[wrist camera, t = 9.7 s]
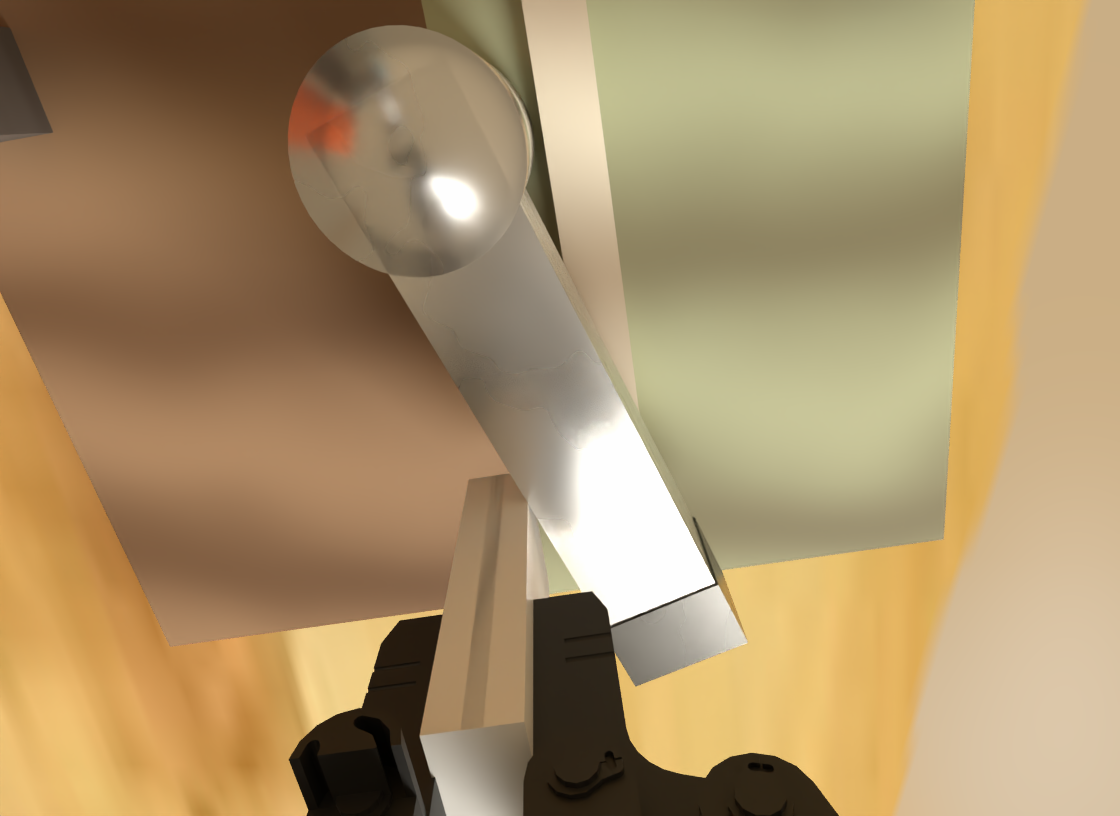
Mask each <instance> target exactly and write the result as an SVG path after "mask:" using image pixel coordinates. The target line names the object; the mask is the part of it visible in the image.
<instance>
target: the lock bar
mask: <svg viewBox="0 0 1120 816" xmlns="http://www.w3.org/2000/svg"><path fill="white" fill-rule="evenodd" d="M288 155H289V161H290V168H291V172H292V176H293V179H294V183H295V186H296V189H297V191H298V193H299V196H300V198H301V201H302V203H303V204H304V206H305V208H306V210H307V212H308V213H309V215H310V217H311V218H312V219H313V221H314V222H315V224H316V225H317V226H318V228H319V229H320V230H321V231H322V232H323V233H324V234H325V236H326V237H327V238H328V239H329V240H330V241H331V242H332V243H333V244H335V245H336V246H337V247H338V248H339V249H340V250H341V251H343V252H344V253H346V254H347V255H349V256H350V257H352V258H353V259H354V260H356V261H358V262H360V263H362V264H364V265H366V266H368V267H370V268H373V269H375V270H378V271H381V272H384V273H388V274H389V275H390V277H391V279H392V280H393V282H394V284H395V285H396V287H397V289H398V290H399V292H400V294H401V295H402V297H403V299H404V300H405V302H406V303H407V305H408V307H409V308H410V310H411V312H412V313H413V315H414V317H415V318H416V320H417V322H418V323H419V325H420V327H421V328H422V330H423V331H424V333H425V335H426V336H427V338H428V340H429V341H430V343H431V345H432V346H433V348H434V350H435V351H436V353H437V355H438V356H439V358H440V359H441V361H442V363H443V364H444V366H445V368H446V369H447V371H448V373H449V374H450V376H451V378H452V379H453V381H454V382H455V384H456V386H457V387H458V389H459V391H460V392H461V394H462V396H463V397H464V399H465V401H466V402H467V404H468V406H469V407H470V409H471V410H472V412H473V414H474V415H475V417H476V419H477V420H478V422H479V424H480V425H481V427H482V429H483V430H484V432H485V434H486V435H487V437H488V438H489V440H490V442H491V443H492V445H493V447H494V448H495V450H496V452H497V453H498V455H499V457H500V458H501V460H502V462H503V463H504V465H505V466H506V468H507V470H508V471H509V473H510V475H511V476H512V478H513V480H514V481H515V483H516V485H517V486H518V488H519V489H520V491H521V493H522V494H523V496H524V498H525V499H526V501H527V502H528V504H529V506H530V508H531V509H532V511H533V513H534V514H535V516H536V517H537V519H538V521H539V522H540V524H541V526H542V527H543V529H544V531H545V532H546V534H547V536H548V537H549V539H550V541H551V542H552V544H553V545H554V547H555V549H556V550H557V552H558V554H559V555H560V557H561V559H562V560H563V562H564V564H565V565H566V567H567V568H568V570H569V572H570V573H571V575H572V577H573V578H574V580H575V582H576V583H577V585H578V587H579V588H580V590H581V592H582V593H583V592H590V591H593V592H594V594H595V595H596V596H597V597H598V598H599V599H600V601H601V602H602V603H603V604H604V605H605V606H606V608H607V609H608V614H609V620H610V627H611V633H612V640H613V646H614V652H615V653H616V655H617V657H618V658H619V660H620V662H621V663H622V665H623V667H624V668H625V670H626V671H627V673H628V675H629V676H630V678H631V680H632V681H633V683H634V685H635V686H638V685H641V684H643V683H646V682H648V681H651V680H653V679H656V678H659V677H661V676H664V675H666V674H669V673H671V672H674V671H677V670H679V669H682V668H684V667H687V666H689V665H692V664H695V663H697V662H700V661H702V660H705V659H707V658H710V657H712V656H715V655H718V654H720V653H723V652H725V651H728V650H730V649H733V648H736V647H738V646H741V645H743V644H746V643H748V641H747V639H746V636H745V633H744V630H743V628H742V625H741V622H740V619H739V617H738V614H737V611H736V608H735V606H734V603H733V600H732V598H731V595H730V592H729V589H728V587H727V584H726V581H725V578H724V576H723V573H722V570H721V568H720V566H719V564H718V562H717V560H716V558H715V556H714V554H713V552H712V550H711V548H710V546H709V544H708V542H707V540H706V538H705V536H704V534H703V532H702V530H701V528H700V526H699V524H698V522H697V520H696V518H695V517H692V516H691V514H690V512H689V510H688V508H687V506H686V504H685V502H684V500H683V498H682V496H681V494H680V492H679V490H678V488H677V486H676V484H675V482H674V480H673V478H672V476H671V474H670V472H669V470H668V468H667V466H666V464H665V462H664V460H663V458H662V456H661V454H660V452H659V450H658V449H657V447H656V445H655V443H654V441H653V439H652V437H651V435H650V433H649V431H648V429H647V427H646V425H645V423H644V421H643V419H642V417H641V415H640V413H639V411H638V409H637V407H636V405H635V403H634V401H633V399H632V397H631V395H630V393H629V391H628V389H627V387H626V385H625V383H624V381H623V379H622V377H621V375H620V373H619V372H618V370H617V368H616V366H615V364H614V362H613V360H612V358H611V356H610V354H609V352H608V350H607V348H606V346H605V344H604V342H603V340H602V338H601V336H600V334H599V332H598V330H597V328H596V326H595V324H594V322H593V320H592V318H591V316H590V314H589V312H588V310H587V308H586V306H585V304H584V302H583V300H582V298H581V297H580V295H579V293H578V291H577V289H576V287H575V285H574V283H573V281H572V279H571V277H570V275H569V273H568V271H567V269H566V267H565V265H564V263H563V261H562V259H561V257H560V255H559V253H558V251H557V249H556V247H555V245H554V243H553V241H552V239H551V237H550V235H549V233H548V231H547V229H546V227H545V225H544V223H543V221H542V220H541V218H540V216H539V214H538V212H537V210H536V208H535V206H534V204H533V202H532V200H531V198H530V196H529V194H528V192H527V190H526V185H527V182H528V179H529V177H530V174H531V170H532V166H533V160H534V134H533V127H532V123H531V119H530V116H529V113H528V111H527V108H526V106H525V103H524V102H523V100H522V98H521V96H520V94H519V93H518V91H517V90H516V89H515V87H514V86H513V85H512V83H511V82H510V81H509V80H508V79H507V78H506V77H505V76H504V75H503V74H502V73H501V72H500V71H498V70H497V69H496V68H495V67H493V66H492V65H491V64H489V63H488V62H487V61H485V60H484V59H482V58H481V57H480V56H478V55H477V54H476V53H474V52H473V51H471V50H470V49H469V48H467V47H465V46H464V45H462V44H461V43H459V42H457V41H456V40H454V39H452V38H450V37H448V36H445V35H443V34H441V33H438V32H435V31H432V30H428V29H425V28H421V27H414V26H407V25H387V26H381V27H375V28H370V29H367V30H364V31H361V32H358V33H355V34H353V35H351V36H349V37H347V38H345V39H343V40H341V41H340V42H339V43H337V44H336V45H334V46H333V47H332V48H330V49H329V50H328V51H327V52H326V53H325V54H324V55H323V56H322V57H321V58H320V59H318V60H317V62H316V63H315V64H314V65H313V67H312V68H311V69H310V71H309V72H308V73H307V75H306V77H305V78H304V80H303V82H302V84H301V86H300V88H299V90H298V92H297V95H296V98H295V100H294V103H293V107H292V111H291V115H290V119H289V129H288Z"/></svg>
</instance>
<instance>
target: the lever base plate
mask: <svg viewBox="0 0 1120 816" xmlns="http://www.w3.org/2000/svg"><path fill="white" fill-rule="evenodd" d="M974 5H975V0H0V292H1V294H2V296H3V299H4V301H5V303H6V305H7V307H8V309H9V311H10V313H11V315H12V317H13V319H14V322H15V324H16V326H17V328H18V330H19V332H20V334H21V336H22V338H23V340H24V342H25V344H26V347H27V349H28V351H29V353H30V355H31V357H32V359H33V361H34V363H35V365H36V367H37V370H38V372H39V374H40V376H41V378H42V380H43V382H44V384H45V386H46V388H47V390H48V393H49V395H50V397H51V399H52V401H53V403H54V405H55V407H56V409H57V411H58V413H59V416H60V418H61V420H62V422H63V424H64V426H65V428H66V430H67V432H68V434H69V436H70V438H71V441H72V443H73V445H74V447H75V449H76V451H77V453H78V455H79V457H80V459H81V461H82V464H83V466H84V468H85V470H86V472H87V474H88V476H89V478H90V480H91V482H92V484H93V487H94V489H95V491H96V493H97V495H98V497H99V499H100V501H101V503H102V505H103V507H104V509H105V512H106V514H107V516H108V518H109V520H110V522H111V524H112V526H113V528H114V530H115V532H116V535H117V537H118V539H119V541H120V543H121V545H122V547H123V549H124V551H125V553H126V555H127V558H128V560H129V562H130V564H131V566H132V568H133V570H134V572H135V574H136V576H137V578H138V580H139V583H140V585H141V587H142V589H143V591H144V593H145V595H146V597H147V599H148V601H149V603H150V606H151V608H152V610H153V612H154V614H155V616H156V618H157V620H158V622H159V624H160V626H161V629H162V631H163V633H164V635H165V637H166V639H167V641H168V643H169V645H170V647H172V646H179V645H186V644H194V643H201V642H208V641H215V640H222V639H230V638H237V637H244V636H251V635H258V634H266V633H273V632H280V631H287V630H294V629H302V628H309V627H316V626H323V625H330V624H338V623H345V622H352V621H359V620H366V619H373V618H381V617H388V616H395V615H402V614H409V613H417V612H424V611H431V610H438V609H444V605H445V600H446V595H447V590H448V585H449V579H450V574H451V569H452V564H453V559H454V553H455V548H456V543H457V538H458V532H459V527H460V522H461V517H462V512H463V506H464V501H465V496H466V491H467V485H468V480H469V479H474V478H480V477H487V476H494V475H501V474H509V471H508V470H507V468H506V466H505V465H504V463H503V462H502V460H501V458H500V457H499V455H498V453H497V452H496V450H495V448H494V447H493V445H492V443H491V442H490V440H489V438H488V437H487V435H486V434H485V432H484V430H483V429H482V427H481V425H480V424H479V422H478V420H477V419H476V417H475V415H474V414H473V412H472V410H471V409H470V407H469V406H468V404H467V402H466V401H465V399H464V397H463V396H462V394H461V392H460V391H459V389H458V387H457V386H456V384H455V382H454V381H453V379H452V378H451V376H450V374H449V373H448V371H447V369H446V368H445V366H444V364H443V363H442V361H441V359H440V358H439V356H438V355H437V353H436V351H435V350H434V348H433V346H432V345H431V343H430V341H429V340H428V338H427V336H426V335H425V333H424V331H423V330H422V328H421V327H420V325H419V323H418V322H417V320H416V318H415V317H414V315H413V313H412V312H411V310H410V308H409V307H408V305H407V303H406V302H405V300H404V299H403V297H402V295H401V294H400V292H399V290H398V289H397V287H396V285H395V284H394V282H393V280H392V279H391V277H390V275H389V274H388V273H384V272H381V271H378V270H375V269H373V268H370V267H368V266H366V265H364V264H362V263H360V262H358V261H356V260H354V259H353V258H352V257H350V256H349V255H347V254H346V253H344V252H343V251H341V250H340V249H339V248H338V247H337V246H336V245H335V244H333V243H332V242H331V241H330V240H329V239H328V238H327V237H326V236H325V234H324V233H323V232H322V231H321V230H320V229H319V228H318V226H317V225H316V224H315V222H314V221H313V219H312V218H311V217H310V215H309V213H308V212H307V210H306V208H305V206H304V204H303V203H302V201H301V198H300V196H299V193H298V191H297V189H296V186H295V183H294V179H293V176H292V172H291V168H290V161H289V155H288V129H289V119H290V115H291V111H292V107H293V103H294V100H295V98H296V95H297V92H298V90H299V88H300V86H301V84H302V82H303V80H304V78H305V77H306V75H307V73H308V72H309V71H310V69H311V68H312V67H313V65H314V64H315V63H316V62H317V60H318V59H320V58H321V57H322V56H323V55H324V54H325V53H326V52H327V51H328V50H329V49H330V48H332V47H333V46H334V45H336V44H337V43H339V42H340V41H341V40H343V39H345V38H347V37H349V36H351V35H353V34H355V33H358V32H361V31H364V30H367V29H370V28H375V27H381V26H387V25H407V26H414V27H421V28H425V29H428V30H432V31H435V32H438V33H441V34H443V35H445V36H448V37H450V38H452V39H454V40H456V41H457V42H459V43H461V44H462V45H464V46H465V47H467V48H469V49H470V50H471V51H473V52H474V53H476V54H477V55H478V56H480V57H481V58H482V59H484V60H485V61H487V62H488V63H489V64H491V65H492V66H493V67H495V68H496V69H497V70H498V71H500V72H501V73H502V74H503V75H504V76H505V77H506V78H507V79H508V80H509V81H510V82H511V83H512V85H513V86H514V87H515V89H516V90H517V91H518V93H519V94H520V96H521V98H522V100H523V102H524V103H525V106H526V108H527V111H528V113H529V116H530V119H531V123H532V127H533V134H534V160H533V166H532V170H531V174H530V177H529V179H528V182H527V185H526V190H527V192H528V194H529V196H530V198H531V200H532V202H533V204H534V206H535V208H536V210H537V212H538V214H539V216H540V218H541V220H542V221H543V223H544V225H545V227H546V229H547V231H548V233H549V235H550V237H551V239H552V241H553V243H554V245H555V247H556V249H557V251H558V253H559V255H560V257H561V259H562V261H563V263H564V265H565V267H566V269H567V271H568V273H569V275H570V277H571V279H572V281H573V283H574V285H575V287H576V289H577V291H578V293H579V295H580V297H581V298H582V300H583V302H584V304H585V306H586V308H587V310H588V312H589V314H590V316H591V318H592V320H593V322H594V324H595V326H596V328H597V330H598V332H599V334H600V336H601V338H602V340H603V342H604V344H605V346H606V348H607V350H608V352H609V354H610V356H611V358H612V360H613V362H614V364H615V366H616V368H617V370H618V372H619V373H620V375H621V377H622V379H623V381H624V383H625V385H626V387H627V389H628V391H629V393H630V395H631V397H632V399H633V401H634V403H635V405H636V407H637V409H638V411H639V413H640V415H641V417H642V419H643V421H644V423H645V425H646V427H647V429H648V431H649V433H650V435H651V437H652V439H653V441H654V443H655V445H656V447H657V449H658V450H659V452H660V454H661V456H662V458H663V460H664V462H665V464H666V466H667V468H668V470H669V472H670V474H671V476H672V478H673V480H674V482H675V484H676V486H677V488H678V490H679V492H680V494H681V496H682V498H683V500H684V502H685V504H686V506H687V508H688V510H689V512H690V514H691V516H692V517H695V518H696V520H697V522H698V524H699V526H700V528H701V530H702V532H703V534H704V536H705V538H706V540H707V542H708V544H709V546H710V548H711V550H712V552H713V554H714V556H715V558H716V560H717V562H718V564H719V566H720V568H721V570H726V569H733V568H741V567H748V566H755V565H762V564H769V563H777V562H784V561H791V560H798V559H805V558H813V557H820V556H827V555H834V554H841V553H849V552H856V551H863V550H870V549H877V548H885V547H892V546H899V545H906V544H913V543H921V542H928V541H935V540H942V539H944V524H945V507H946V490H947V472H948V455H949V438H950V421H951V403H952V386H953V369H954V351H955V334H956V317H957V299H958V282H959V265H960V247H961V230H962V213H963V195H964V178H965V161H966V144H967V126H968V109H969V92H970V74H971V57H972V40H973V22H974ZM537 520H538V519H537ZM538 526H539V531H540V537H541V542H542V548H543V553H544V558H545V564H546V569H547V575H548V580H549V594H553V593H561V592H568V591H575V590H580V588H579V587H578V585H577V583H576V582H575V580H574V578H573V577H572V575H571V573H570V572H569V570H568V568H567V567H566V565H565V564H564V562H563V560H562V559H561V557H560V555H559V554H558V552H557V550H556V549H555V547H554V545H553V544H552V542H551V541H550V539H549V537H548V536H547V534H546V532H545V531H544V529H543V527H542V526H541V524H540V522H539V521H538Z"/></svg>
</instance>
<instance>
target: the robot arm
mask: <svg viewBox="0 0 1120 816" xmlns="http://www.w3.org/2000/svg"><path fill="white" fill-rule="evenodd" d="M289 761H290V764H291V766H292V769H293V772H294V774H295V777H296V779H297V782H298V784H299V787H300V790H301V792H302V795H303V797H304V800H305V802H306V805H307V808H308V813H307V816H839V815H838V814H837V813H836V811H835V810H834V809H833V807H832V806H831V805H830V803H829V802H828V801H827V799H826V798H825V797H824V795H823V794H822V793H821V791H820V790H819V789H818V787H817V786H816V785H815V783H814V782H813V781H812V780H811V779H810V778H808V777H807V776H806V775H805V774H804V773H803V772H802V771H801V770H800V769H799V768H798V767H797V766H795V765H793V764H791V763H789V762H786V761H784V760H782V759H780V758H778V757H776V756H771V755H764V754H757V753H748V754H743V755H737V756H732V757H729V758H728V759H726V760H724V761H723V762H721V763H719V764H718V765H716V766H714V767H713V768H712V769H711V771H710V772H709V774H708V775H707V777H706V778H702V777H696V776H689V775H683V774H678V773H675V772H671V771H667V770H664V769H662V768H660V767H658V766H656V765H654V764H652V763H650V762H649V761H648V760H646V759H645V758H644V757H643V756H642V755H641V754H640V753H638V751H637V750H636V749H635V747H634V746H633V744H632V743H631V741H630V739H629V736H628V732H627V729H626V724H625V718H624V711H623V705H622V698H621V692H620V685H619V679H618V672H617V666H616V659H615V653H614V646H613V640H612V633H611V627H610V620H609V614H608V609H607V608H606V606H605V605H604V604H603V603H602V602H601V601H600V599H599V598H598V597H597V596H596V595H595V594H594V592H593V591H590V592H583V593H576V594H569V595H562V596H555V597H549V580H548V575H547V569H546V564H545V558H544V553H543V548H542V542H541V537H540V531H539V526H538V520H537V517H536V516H535V514H534V513H533V511H532V509H531V508H530V506H529V504H528V502H527V501H526V499H525V498H524V496H523V494H522V493H521V491H520V489H519V488H518V486H517V485H516V483H515V481H514V480H513V478H512V476H511V475H510V473H509V474H501V475H494V476H487V477H480V478H474V479H469V480H468V485H467V491H466V496H465V501H464V506H463V512H462V517H461V522H460V527H459V532H458V538H457V543H456V548H455V553H454V559H453V564H452V569H451V574H450V579H449V585H448V590H447V595H446V600H445V605H444V611H443V615H436V616H429V617H422V618H415V619H408V620H401V621H399V622H398V623H397V625H396V626H395V627H394V628H393V630H392V631H391V632H390V633H389V635H388V636H387V637H386V638H385V639H384V641H383V642H382V643H381V646H380V649H379V653H378V656H377V659H376V663H375V666H374V672H373V673H372V676H371V679H370V683H369V686H368V693H366V696H365V699H364V703H363V706H362V708H358V709H354V710H351V711H347V712H343V713H340V714H337V715H335V716H333V717H331V718H330V719H328V720H326V721H324V722H322V723H321V724H319V725H317V726H316V727H315V728H314V729H313V730H312V731H311V732H309V733H308V734H307V735H306V736H305V737H304V738H303V739H302V740H301V741H300V742H299V744H298V745H297V747H296V748H295V750H294V752H293V753H292V755H291V757H290V758H289Z"/></svg>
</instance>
